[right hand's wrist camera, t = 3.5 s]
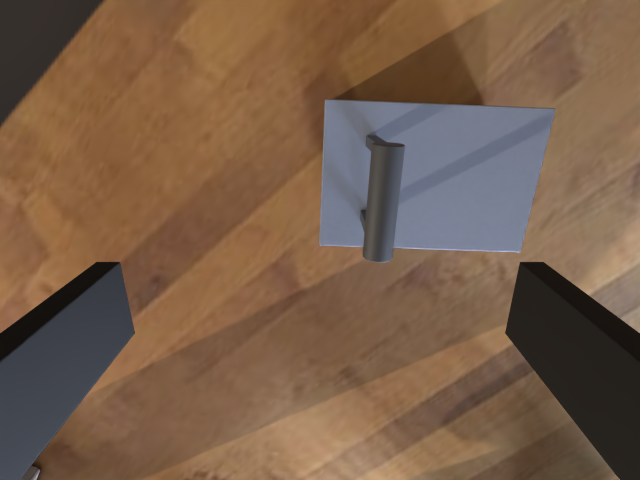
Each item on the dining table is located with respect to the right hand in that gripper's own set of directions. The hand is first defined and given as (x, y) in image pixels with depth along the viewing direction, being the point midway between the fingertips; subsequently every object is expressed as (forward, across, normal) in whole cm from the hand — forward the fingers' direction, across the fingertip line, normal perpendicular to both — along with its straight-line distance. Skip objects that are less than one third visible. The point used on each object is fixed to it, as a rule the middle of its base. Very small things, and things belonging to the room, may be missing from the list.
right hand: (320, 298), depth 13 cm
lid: (+15, -7, -1) cm, 16 cm away
